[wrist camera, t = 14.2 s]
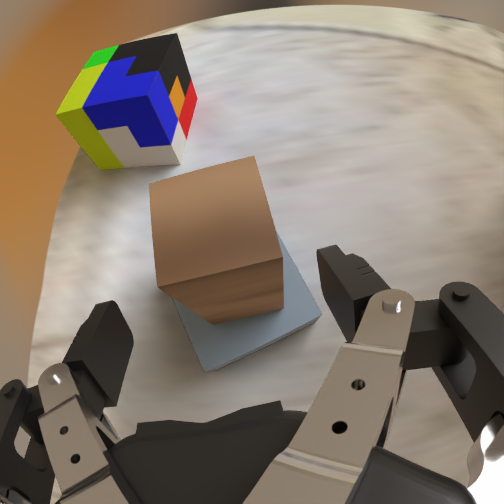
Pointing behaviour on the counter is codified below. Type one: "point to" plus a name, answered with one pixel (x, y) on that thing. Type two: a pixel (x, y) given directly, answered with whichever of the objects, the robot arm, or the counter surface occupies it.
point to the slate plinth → (251, 323)
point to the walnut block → (217, 242)
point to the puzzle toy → (132, 104)
